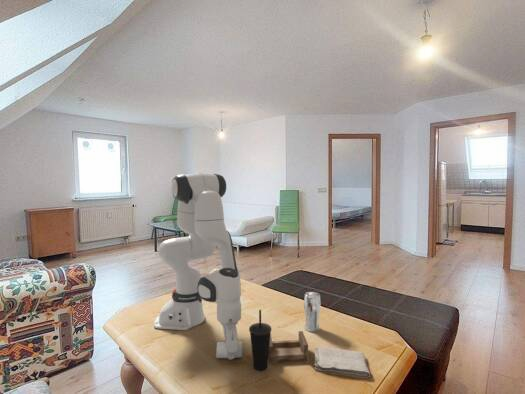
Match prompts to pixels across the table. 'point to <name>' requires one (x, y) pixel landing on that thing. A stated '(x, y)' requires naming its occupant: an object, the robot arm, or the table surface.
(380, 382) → the table surface
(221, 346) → the roll
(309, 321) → the silver tumbler
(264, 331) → the drinking cup
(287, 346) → the cradle
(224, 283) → the robot arm
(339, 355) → the washcloth
